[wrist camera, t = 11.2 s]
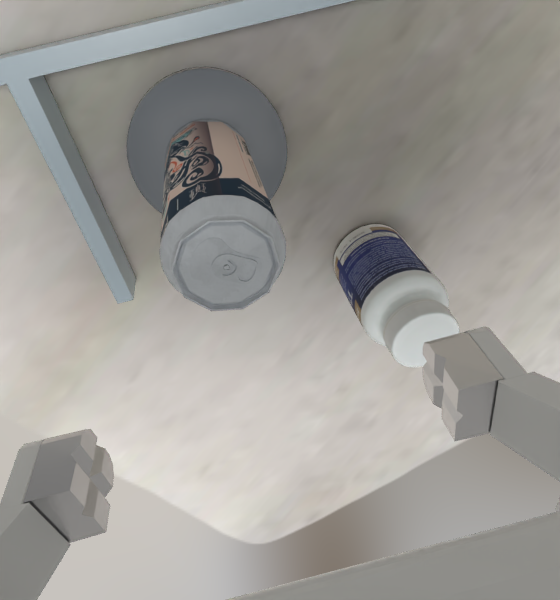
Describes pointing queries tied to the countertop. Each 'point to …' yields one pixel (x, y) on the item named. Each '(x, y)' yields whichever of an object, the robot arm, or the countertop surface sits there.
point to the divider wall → (98, 47)
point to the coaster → (197, 106)
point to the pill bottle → (393, 292)
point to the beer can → (217, 220)
